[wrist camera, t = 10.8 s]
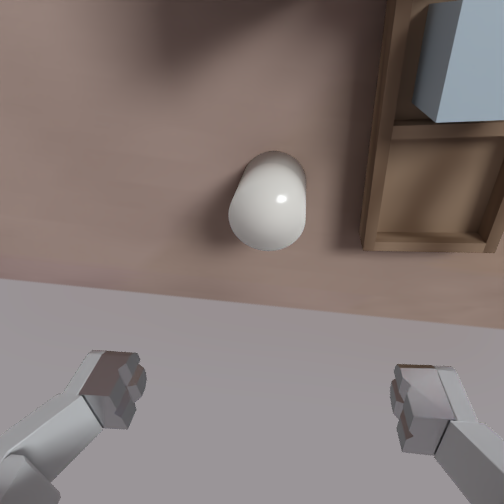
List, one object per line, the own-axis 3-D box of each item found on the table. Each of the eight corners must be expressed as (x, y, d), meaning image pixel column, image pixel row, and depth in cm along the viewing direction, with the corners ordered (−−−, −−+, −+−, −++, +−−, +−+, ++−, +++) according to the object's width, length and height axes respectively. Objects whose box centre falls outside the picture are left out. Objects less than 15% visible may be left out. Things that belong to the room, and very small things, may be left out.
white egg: (245, 210, 29) (232, 250, 24) (240, 151, 26) (224, 182, 21) (305, 210, 28) (304, 251, 23) (306, 150, 25) (306, 182, 20)
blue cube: (411, 102, 21) (435, 122, 17) (429, 4, 18) (463, -1, 14) (499, 98, 20) (546, 118, 16) (531, -6, 18) (598, -13, 14)
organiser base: (358, 232, 28) (363, 250, 26) (391, -32, 19) (401, -39, 16) (479, 233, 27) (494, 252, 25) (580, -53, 17) (620, -63, 15)
